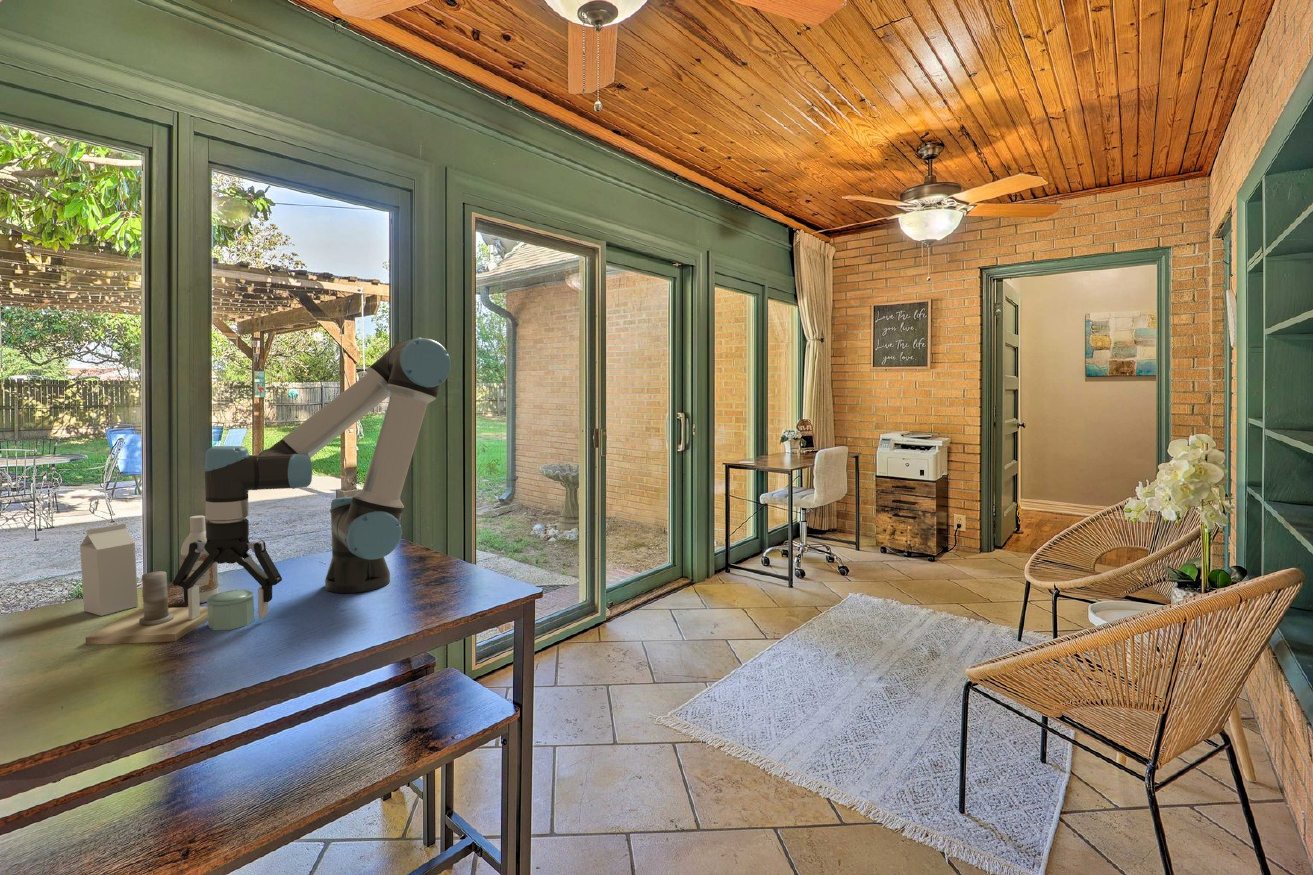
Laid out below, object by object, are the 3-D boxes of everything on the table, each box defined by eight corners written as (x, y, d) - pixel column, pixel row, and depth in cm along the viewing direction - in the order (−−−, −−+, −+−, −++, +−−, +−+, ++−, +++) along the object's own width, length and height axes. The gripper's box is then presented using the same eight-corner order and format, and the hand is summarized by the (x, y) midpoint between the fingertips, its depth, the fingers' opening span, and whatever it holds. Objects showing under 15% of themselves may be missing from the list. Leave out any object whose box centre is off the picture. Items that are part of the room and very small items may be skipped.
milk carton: (138, 606, 144) (134, 525, 143) (100, 616, 138) (95, 531, 136) (121, 601, 147) (117, 522, 146) (83, 611, 141) (78, 528, 139)
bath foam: (181, 606, 145) (177, 520, 143) (184, 597, 151) (180, 515, 149) (218, 600, 149) (214, 517, 147) (219, 592, 155) (215, 512, 153)
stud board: (219, 612, 141) (217, 562, 140) (175, 641, 125) (172, 584, 124) (140, 615, 139) (137, 564, 138) (85, 644, 123) (82, 587, 122)
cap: (261, 615, 140) (260, 589, 139) (242, 629, 132) (241, 601, 131) (221, 616, 139) (220, 590, 138) (199, 631, 130) (198, 603, 130)
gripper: (298, 516, 139) (298, 609, 140) (173, 515, 135) (175, 611, 137) (282, 523, 131) (283, 622, 133) (150, 522, 128) (153, 624, 129)
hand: (228, 617), depth 135 cm, fingers open, 13 cm apart
